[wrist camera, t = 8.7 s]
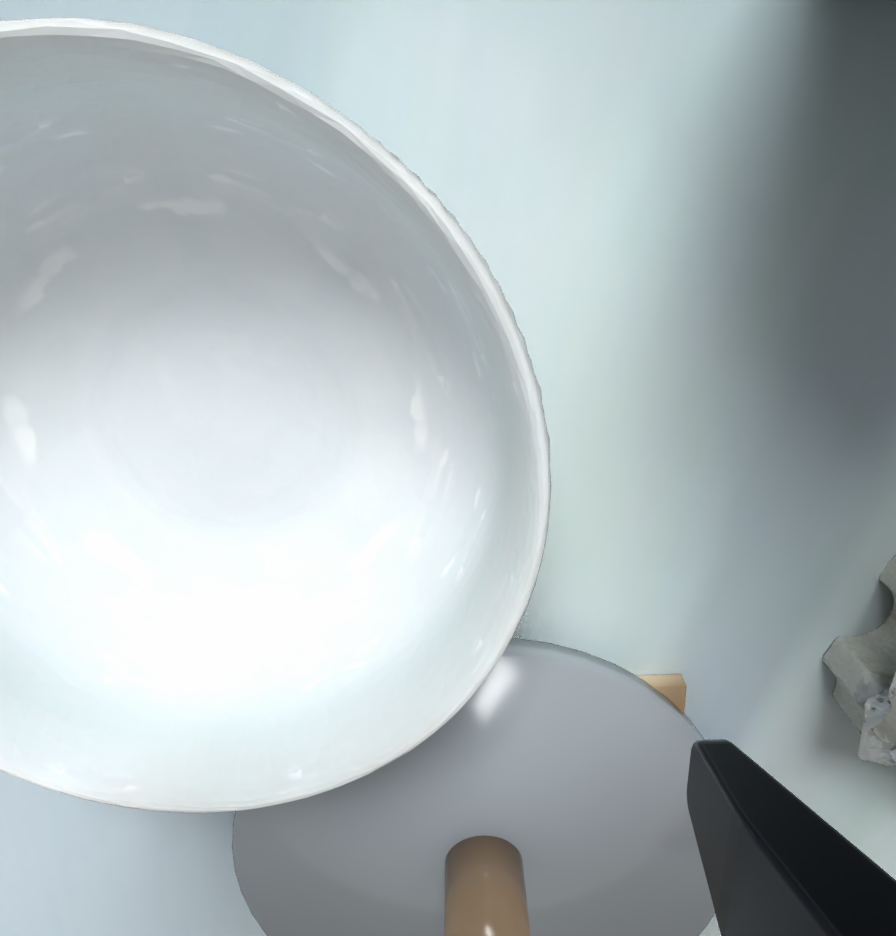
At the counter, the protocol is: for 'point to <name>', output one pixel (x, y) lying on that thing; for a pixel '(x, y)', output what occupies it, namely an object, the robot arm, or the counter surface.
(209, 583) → the cereal bowl
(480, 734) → the lid
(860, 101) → the counter surface
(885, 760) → the egg carton
